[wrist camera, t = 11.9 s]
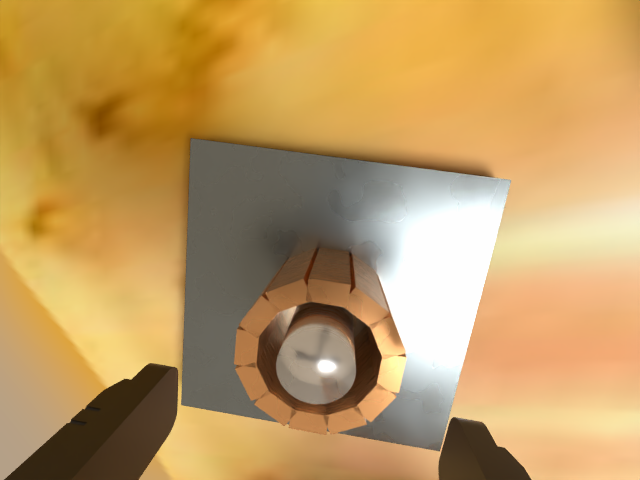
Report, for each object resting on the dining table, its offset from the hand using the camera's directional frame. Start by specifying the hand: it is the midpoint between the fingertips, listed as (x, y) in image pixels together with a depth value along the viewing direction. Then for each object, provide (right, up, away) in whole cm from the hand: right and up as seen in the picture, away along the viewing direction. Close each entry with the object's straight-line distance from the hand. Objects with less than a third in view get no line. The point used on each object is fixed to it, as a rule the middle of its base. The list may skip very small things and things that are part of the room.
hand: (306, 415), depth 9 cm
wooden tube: (+1, +1, +8) cm, 8 cm away
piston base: (+1, +2, +9) cm, 10 cm away
